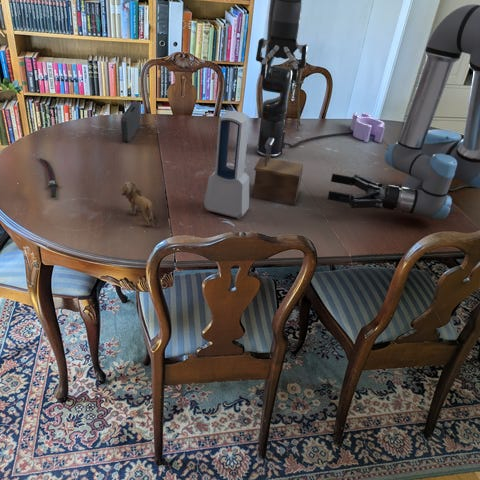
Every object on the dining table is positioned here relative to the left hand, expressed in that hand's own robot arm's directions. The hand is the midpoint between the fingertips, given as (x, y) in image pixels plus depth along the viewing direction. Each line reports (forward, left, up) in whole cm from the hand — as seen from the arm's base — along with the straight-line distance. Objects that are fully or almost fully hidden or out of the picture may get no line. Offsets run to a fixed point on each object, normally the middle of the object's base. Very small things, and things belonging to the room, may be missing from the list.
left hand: (278, 79), depth 137 cm
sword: (+60, -37, -37) cm, 80 cm away
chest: (-3, +3, -37) cm, 37 cm away
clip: (-79, -28, -37) cm, 92 cm away
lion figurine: (+44, -2, -37) cm, 57 cm away
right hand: (-14, +16, -30) cm, 37 cm away
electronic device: (+19, +6, -37) cm, 42 cm away
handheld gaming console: (+20, -65, -37) cm, 78 cm away
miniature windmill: (-51, -49, -37) cm, 80 cm away
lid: (-3, +3, -27) cm, 28 cm away
